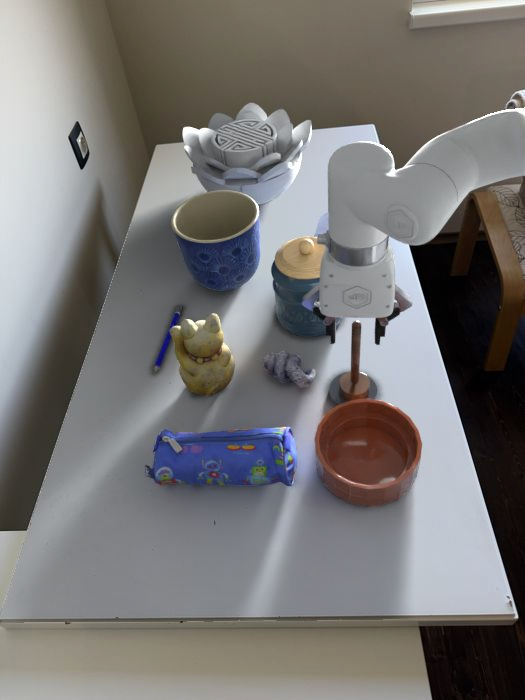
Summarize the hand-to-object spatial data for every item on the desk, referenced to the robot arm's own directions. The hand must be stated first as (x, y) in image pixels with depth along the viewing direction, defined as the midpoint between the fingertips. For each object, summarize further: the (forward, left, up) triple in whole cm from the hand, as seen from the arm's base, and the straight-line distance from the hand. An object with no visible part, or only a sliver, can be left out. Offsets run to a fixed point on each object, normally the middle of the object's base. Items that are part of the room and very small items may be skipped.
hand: (355, 336), depth 84 cm
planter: (+40, -2, -14) cm, 42 cm away
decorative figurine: (+18, +17, -14) cm, 28 cm away
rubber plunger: (0, 0, -13) cm, 13 cm away
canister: (+19, -7, -14) cm, 25 cm away
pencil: (+33, +17, -14) cm, 40 cm away
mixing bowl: (-11, +8, -14) cm, 19 cm away
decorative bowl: (+61, -24, -14) cm, 67 cm away
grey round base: (0, 0, -14) cm, 14 cm away
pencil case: (+2, +25, -14) cm, 29 cm away
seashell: (+10, +6, -14) cm, 18 cm away
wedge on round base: (+30, -24, -14) cm, 41 cm away
